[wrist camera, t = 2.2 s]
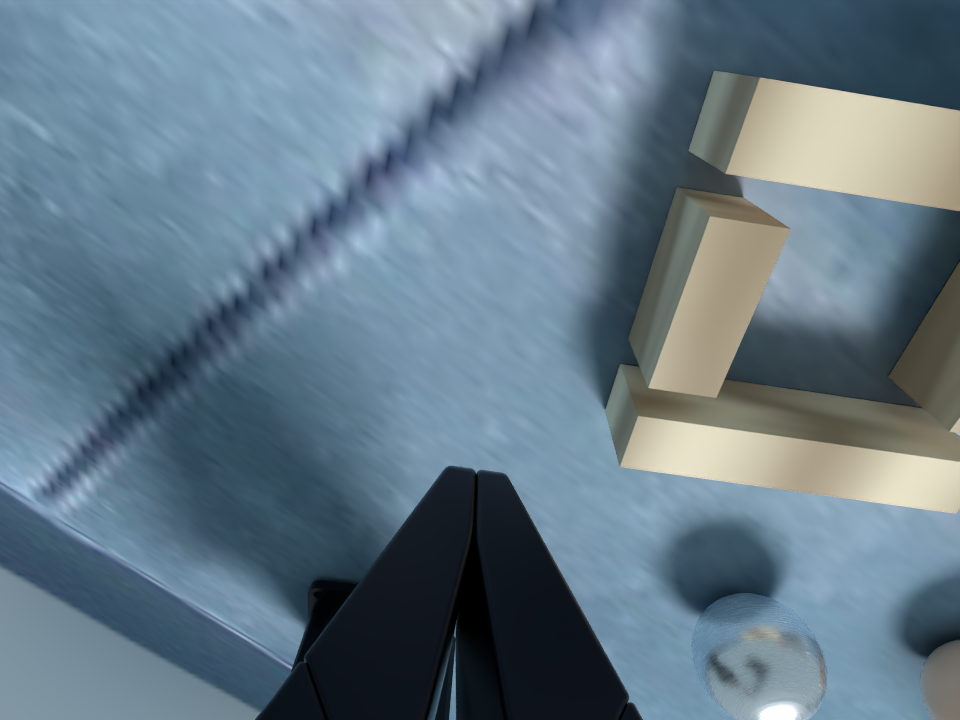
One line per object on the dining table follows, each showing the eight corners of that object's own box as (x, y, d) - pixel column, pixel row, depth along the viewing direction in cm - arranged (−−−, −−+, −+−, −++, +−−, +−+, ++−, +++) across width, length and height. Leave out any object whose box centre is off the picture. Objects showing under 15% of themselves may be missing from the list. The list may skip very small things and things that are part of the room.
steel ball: (663, 630, 26) (694, 748, 22) (700, 561, 24) (743, 678, 19) (765, 643, 26) (816, 762, 22) (812, 576, 24) (880, 695, 19)
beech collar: (605, 410, 20) (619, 466, 17) (714, 70, 14) (759, 77, 12) (897, 452, 20) (955, 513, 18) (1115, 137, 15) (1246, 158, 12)
